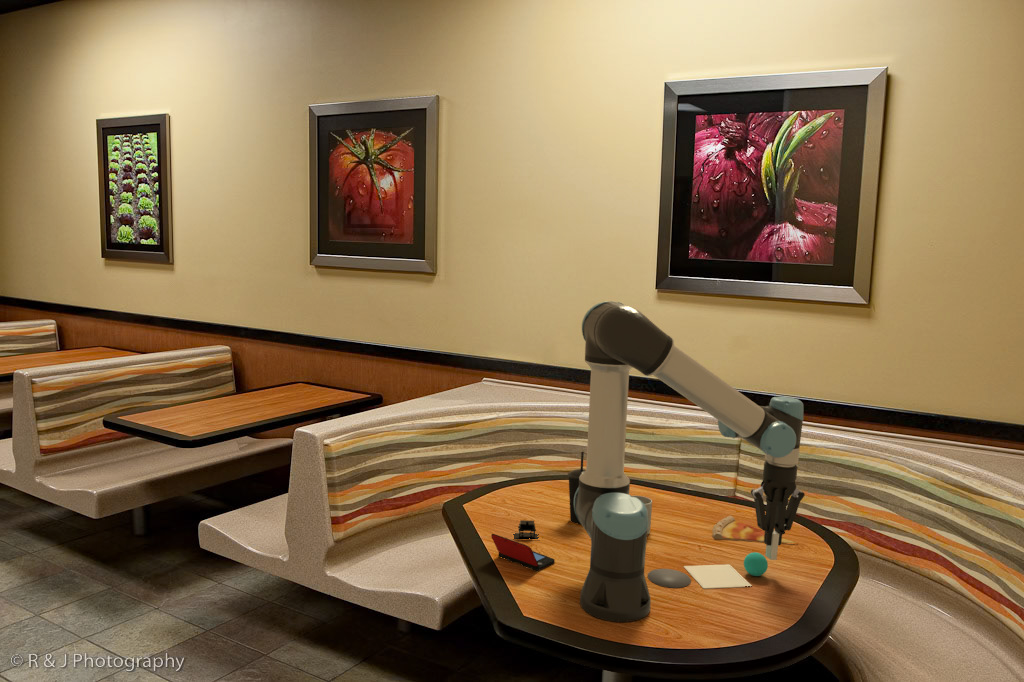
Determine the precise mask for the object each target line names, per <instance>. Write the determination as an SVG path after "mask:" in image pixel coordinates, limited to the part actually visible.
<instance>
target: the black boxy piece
mask: <svg viewBox="0 0 1024 682" xmlns="http://www.w3.org/2000/svg"><path fill="white" fill-rule="evenodd" d="M517 528H518V532H514V533H515V534H513V535H514V539H529V538H530V539H538V538H539V537H537V536H538V535H539V534H538V535H537V534H535V533H536V532H537V529H536V523H535V520H525V519H524V520H523V519H522V520H520V522H519V523H518V526H517Z"/></svg>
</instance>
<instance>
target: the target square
mask: <svg viewBox="0 0 1024 682" xmlns="http://www.w3.org/2000/svg"><path fill="white" fill-rule="evenodd" d="M683 568H684V569H685V570H686V571H687V572H688V574H689V575H690V576H691V577H692V578H693V579H694V580H695V581H696V583H698V585H700V587H701V588H702V589H704V590H709V589H710V590H711V589H729V588H731V589H732V588H752V587H753V585H752V584H751V583H750V582H749V581H748V580H746V579H745V577H743V576H742V575H741V574H740V573H739V572H738V571H737V570H736V569H735V568H734V567H733V566H732V565H731V564H729V563H726V564H710V565H709V564H708V565H707V564H705V565H702V564H701V565H699V564H698V565H684V566H683ZM745 586H747V587H745ZM748 586H750V587H748ZM751 586H752V587H751Z"/></svg>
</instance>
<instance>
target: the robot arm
mask: <svg viewBox="0 0 1024 682" xmlns="http://www.w3.org/2000/svg"><path fill="white" fill-rule="evenodd" d="M581 333H582V337H583V340H584V341H585V343H584V344H585V346H584V347H585V348H584V362H585V363H586V365H588V366H589V368H590V382H589V384H590V386H589V402H588V403H589V404H588V405H589V407H588V408H589V409H588V426H587V429H588V430H587V450H586V452H587V453H586V469H585V470H586V471H585V472H583V473H582V474H581V475H580V477H579V487H578V489H577V491H576V493H575V496H574V510H575V514H576V516H577V519H578V520H579V522H580V523H581V524H580V525H581V526H582V528H583V529H584V531H585V532H586V533H587V535H588V537H589V538H590V541H591V542H590V559H589V560H590V563H589V570H588V571H587V575H586V577H585V580H584V582H583V585H582V587H581V590H580V598H579V604H580V606H581V608H582V610H584V611H585V613H587V614H588V615H591V616H593V617H595V618H598V619H601V620H604V621H610V622H616V623H626V622H628V623H629V622H634V621H638V620H642V619H644V618H645V617H646V616H648V615H649V613H650V611H651V604H652V603H651V602H652V600H651V594H650V590H649V587H648V584H647V580H646V576H645V566H646V550H647V537H648V535H647V528H648V513H647V508H646V506H645V504H644V503H643V502H642V501H641V500H639V499H638V498H636V497H632V496H633V495H631V494H630V487H631V486H630V484H631V480H630V478H629V477H628V476H627V475H626V473H625V472H624V471H625V458H626V457H625V453H626V435H627V418H628V402H629V400H628V398H629V383H630V381H629V380H630V371H631V369H635V370H637V371H638V372H640V373H641V374H643V375H644V376H646V377H649V376H650V377H651V376H654V377H656V378H657V379H658V380H659V381H661V382H663V383H664V384H666V385H667V386H668V387H670V388H672V389H673V390H674V391H675V392H676V393H678V394H680V395H681V396H683V397H684V398H686V399H687V400H688V401H690V402H691V403H693V404H695V405H696V406H697V407H699V408H700V409H701V410H703V411H705V412H706V413H707V414H709V415H710V416H712V417H713V418H714V419H716V420H717V425H718V430H719V433H720V434H721V436H723V437H725V438H730V439H731V438H732V439H737V438H738V439H742V440H744V441H745V442H747V443H749V444H750V445H752V446H754V447H755V448H756V449H758V450H760V451H762V452H763V453H764V459H765V461H764V462H763V470H762V471H763V472H762V482H761V483H760V486H759V487H758V488H756V489H755V488H752V489H751V490H750V493H751V496H752V497H753V499H754V501H753V502H754V510H755V516H756V523H757V524H756V525H757V527H759V528H758V529H760V530H762V531H765V535H764V542H763V543H764V545H766V547H765V554H764V556H765V557H767V558H768V559H769V560H770V561H776V560H778V559H777V558H778V552H779V551H778V550H779V546H781V545H782V544H781V541H782V538H783V535H784V534H786V531H790V530H791V529H792V526H793V524H794V521H795V517H796V515H797V513H798V510H799V509H798V508H799V506H800V504H801V501H802V500H803V498H804V497H805V493H804V492H803V491H802V490H801V489H799V488H797V483H796V480H797V475H798V466H797V464H798V463H799V460H800V446H801V445H800V444H801V439H802V438H801V437H802V429H803V422H804V411H805V410H804V403H803V402H802V401H801V400H800V399H797V398H793V397H789V396H774V397H772V398H771V399H770V402H769V404H768V405H764V406H763V405H758V404H757V403H756V402H754V401H752V400H751V399H750V398H748V397H747V396H746V395H744V393H742V392H740V391H738V390H737V389H736V388H734V387H732V385H730V384H729V383H727V382H726V381H725V380H723V379H722V378H721V377H719V376H717V375H715V373H714V372H712V371H711V370H710V369H708V368H706V367H705V366H703V365H702V364H701V363H699V362H698V361H697V360H695V359H694V358H692V357H691V356H689V355H688V354H687V353H685V352H684V351H683V350H681V349H680V348H678V347H677V346H676V345H675V341H674V339H673V337H672V336H670V335H669V334H667V333H666V332H664V331H663V330H662V329H661V328H660V327H659V326H657V325H656V324H655V323H653V321H652V320H650V319H649V318H648V317H647V316H646V315H645V314H643V312H641V311H640V310H638V309H636V308H634V307H632V306H628V305H626V304H624V303H622V302H619V301H602V302H599V303H597V304H594V305H593V306H592V307H590V308H589V310H587V312H586V313H585V314H584V316H583V319H582V322H581ZM764 495H765V497H766V498H765V502H766V506H765V502H764V499H763V498H764ZM765 509H766V510H765Z"/></svg>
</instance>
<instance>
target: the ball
mask: <svg viewBox="0 0 1024 682" xmlns="http://www.w3.org/2000/svg"><path fill="white" fill-rule="evenodd" d="M768 565H769V563H768V560H767V559H766V556H765V555H763V554H762V553H760V552H757V551H755V552H754V551H753V552H750V553H748V554H747V555H746V556H745V558H744V559H743V566H744V569H745V571H746V572H747V573H748V574H749V575H750V576H754V577H760V576H762V575H764V574H765V573H766V572H767V570H768V567H769V566H768Z"/></svg>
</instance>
